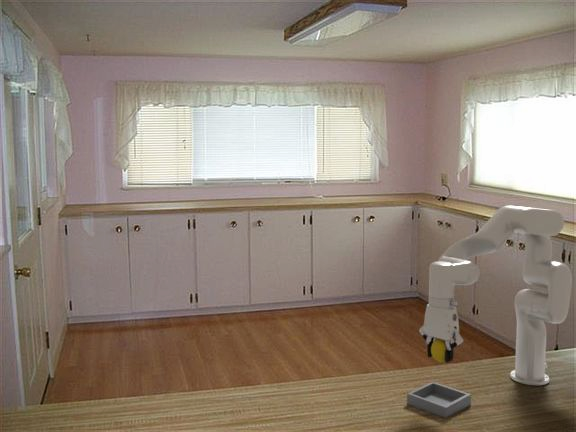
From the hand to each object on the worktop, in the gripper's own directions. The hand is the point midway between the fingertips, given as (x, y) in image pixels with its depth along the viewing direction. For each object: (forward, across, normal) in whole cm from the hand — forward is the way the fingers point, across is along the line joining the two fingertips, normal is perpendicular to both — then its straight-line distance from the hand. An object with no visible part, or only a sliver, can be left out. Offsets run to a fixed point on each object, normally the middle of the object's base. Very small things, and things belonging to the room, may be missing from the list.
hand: (440, 358), depth 180 cm
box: (+15, 0, 0) cm, 15 cm away
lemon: (+2, 0, 0) cm, 2 cm away
